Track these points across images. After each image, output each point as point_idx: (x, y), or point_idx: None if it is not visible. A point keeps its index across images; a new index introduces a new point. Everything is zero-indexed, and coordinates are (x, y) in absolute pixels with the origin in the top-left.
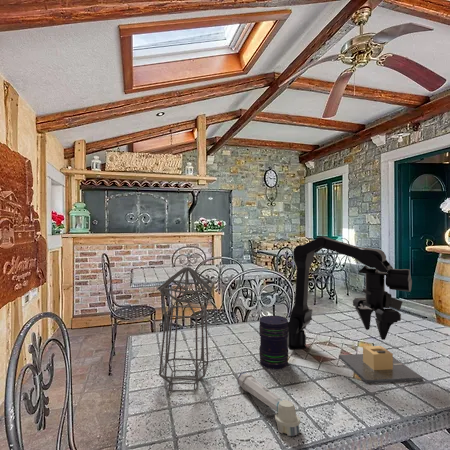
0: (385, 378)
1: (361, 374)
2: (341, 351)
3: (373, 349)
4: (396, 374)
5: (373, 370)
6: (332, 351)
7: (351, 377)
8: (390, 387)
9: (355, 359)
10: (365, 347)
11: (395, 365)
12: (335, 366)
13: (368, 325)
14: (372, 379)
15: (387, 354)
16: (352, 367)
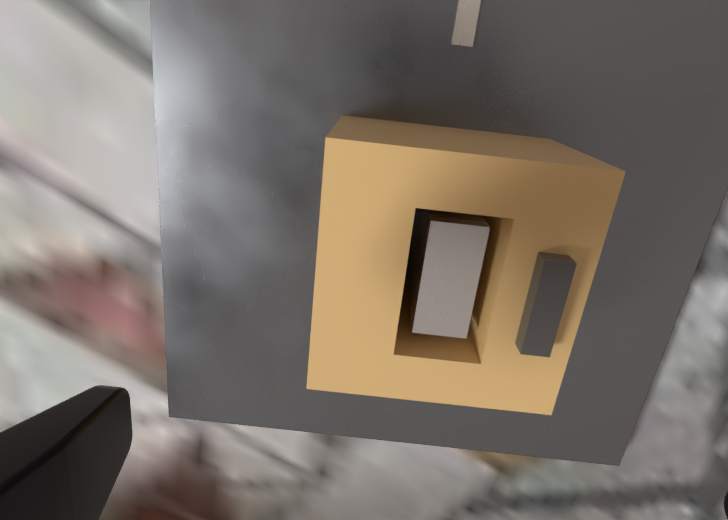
0: (662, 326)
1: (535, 446)
2: (40, 312)
3: (398, 307)
4: (647, 182)
5: None
6: (43, 382)
7: (500, 480)
8: (724, 331)
9: (276, 340)
10: (338, 377)
11: (486, 38)
12: (323, 490)
13: (64, 480)
14: (629, 421)
15: (597, 244)
16: (414, 442)
